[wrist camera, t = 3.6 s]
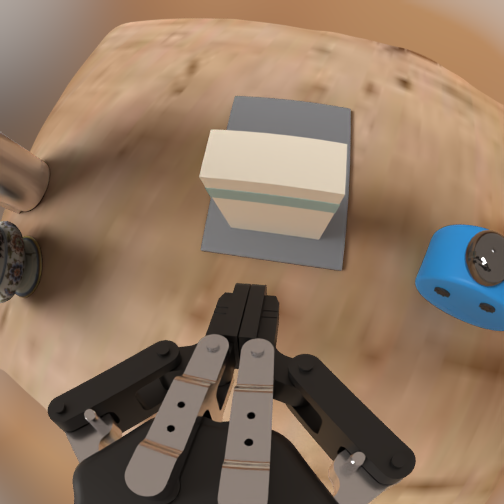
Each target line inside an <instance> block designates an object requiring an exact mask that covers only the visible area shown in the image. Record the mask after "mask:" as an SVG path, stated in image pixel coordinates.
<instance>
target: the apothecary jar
mask: <svg viewBox="0 0 504 504" xmlns="http://www.w3.org/2000/svg"><path fill="white" fill-rule="evenodd" d="M41 272H42V255H41V250H40V247H39V245H38V243H37V241H36V240H35V239H34V238H32V237H30V236H24V237H22V234H21V232H20V230H19V229H18V228H17V227H16V226H15V225H14V224H13V223H11V222H8V221H1V222H0V303H3V302H6V301H8V300H10V299H11V298H12V297H13V296H14V294H16V295H18V296H19V297H23V298H25V297H28V296H30V295H31V294H32V293H33V292H34V291H35V289H36V287H37V285H38V283H39V280H40V277H41Z"/></svg>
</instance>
